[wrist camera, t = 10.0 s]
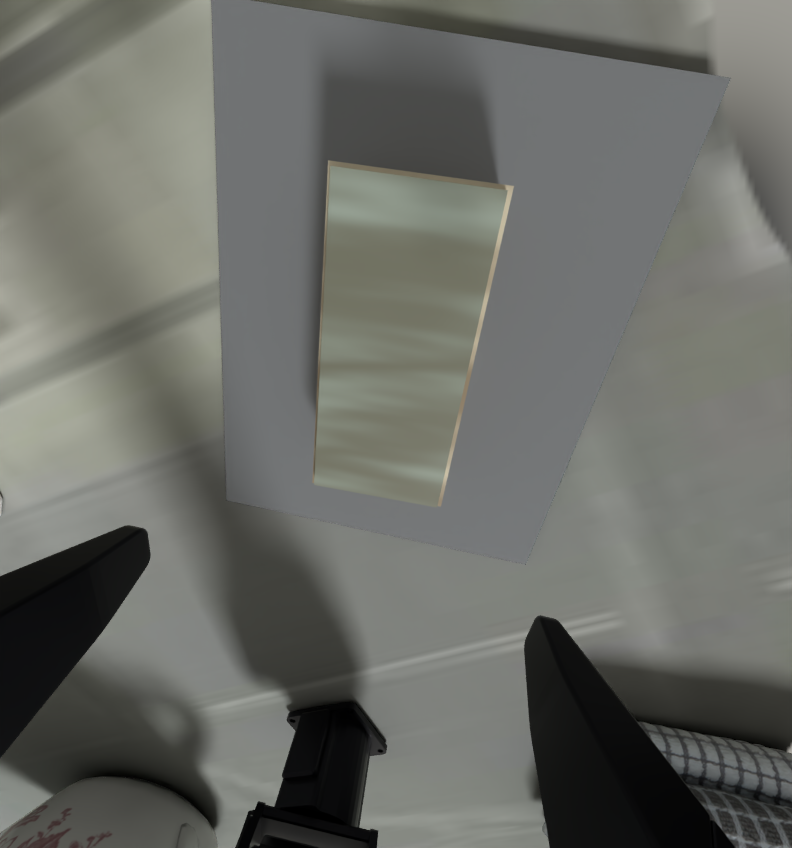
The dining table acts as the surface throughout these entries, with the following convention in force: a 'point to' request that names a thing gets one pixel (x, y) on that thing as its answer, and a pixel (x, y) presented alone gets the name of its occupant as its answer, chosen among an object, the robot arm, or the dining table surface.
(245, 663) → the dining table surface
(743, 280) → the dining table surface
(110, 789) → the chamber pot
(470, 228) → the brown rectangular block
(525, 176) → the rubber mat
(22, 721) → the robot arm
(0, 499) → the white cup
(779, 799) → the towel
